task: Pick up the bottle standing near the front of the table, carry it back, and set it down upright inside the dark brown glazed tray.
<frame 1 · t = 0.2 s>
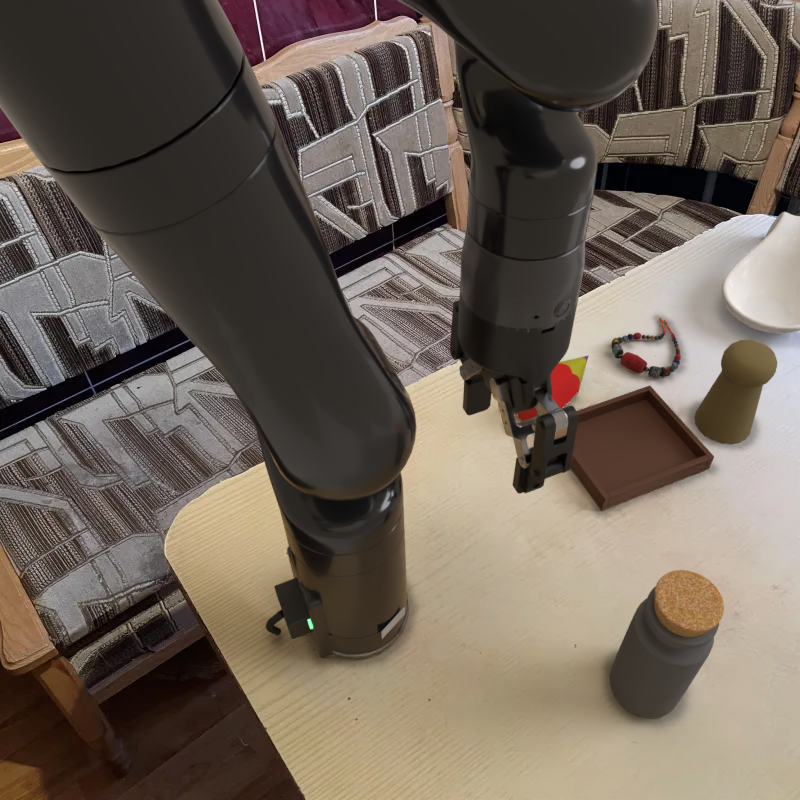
hand: (500, 446, 60), 17 cm above the table, tool pointing down, fingers open, 8 cm apart
necklace: (651, 350, 92), on the table
tray: (625, 450, 81), on the table
pencil: (557, 396, 87), on the table, touching tray
spoon rest: (769, 290, 99), on the table
pepper shaker: (721, 424, 84), on the table
bottle: (643, 685, 64), on the table
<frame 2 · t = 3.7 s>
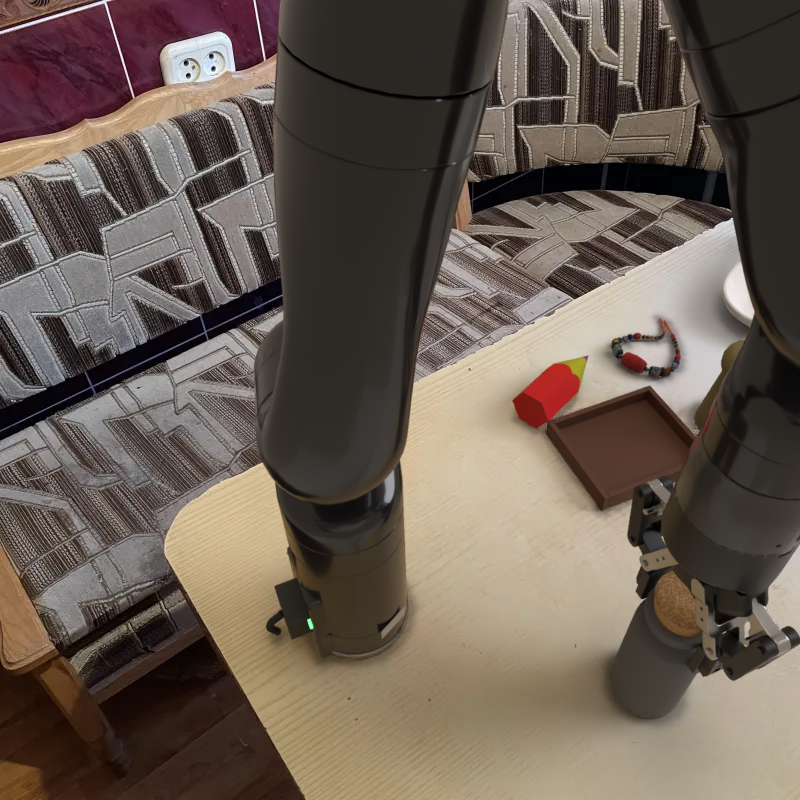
hand: (674, 627, 56), 11 cm above the table, tool pointing down, fingers closed on bottle, 5 cm apart
bottle: (643, 685, 64), on the table, touching gripper
everything else where it was.
when the fingers open (11 cm above the table, at t = 12.6 s): bottle stays where it is, resting on tray.
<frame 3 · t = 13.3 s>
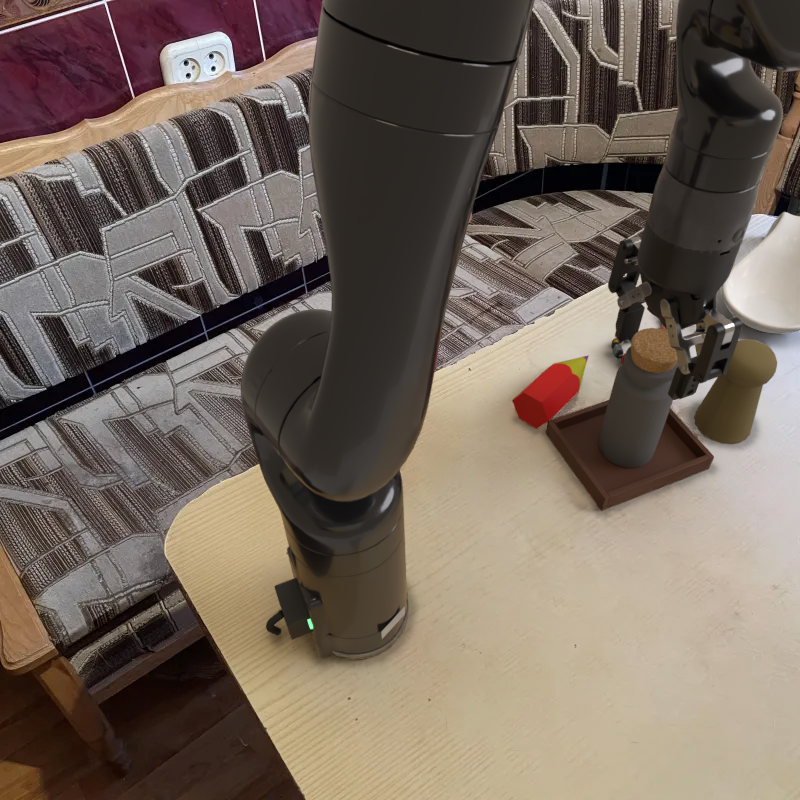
hand: (651, 365, 72), 13 cm above the table, tool pointing down, fingers open, 8 cm apart
bottle: (625, 448, 81), resting on tray
everything else where it was.
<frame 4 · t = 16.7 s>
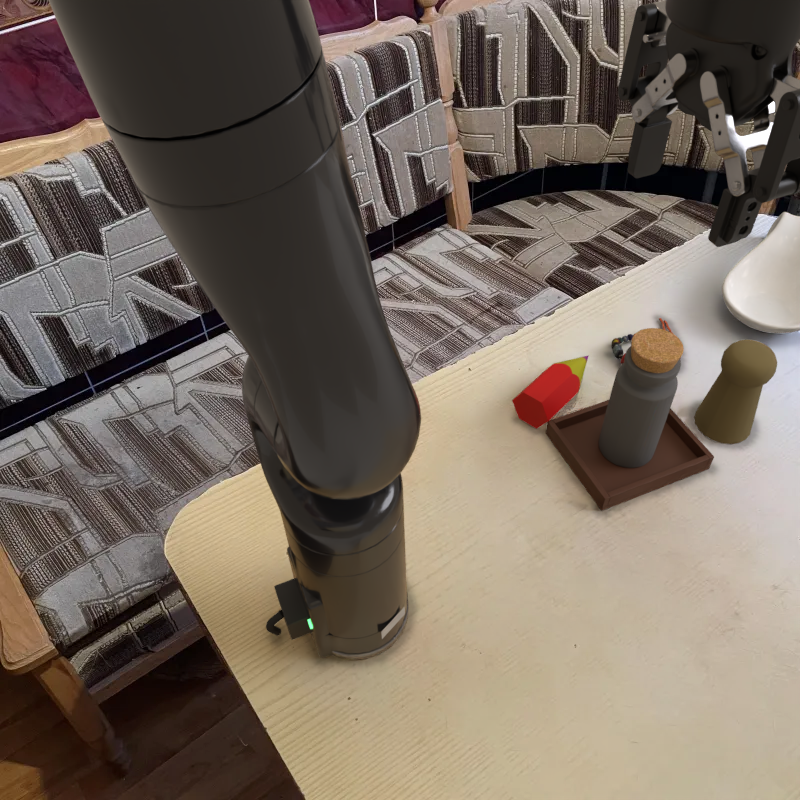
hand: (681, 205, 49), 36 cm above the table, tool pointing down, fingers open, 8 cm apart
nothing on the table moved.
at the end: bottle inside the target area in the tray (0.0 cm from its centre), point 0.4 cm above the tray's base; bottle tilted 0°; the gripper is holding nothing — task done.
